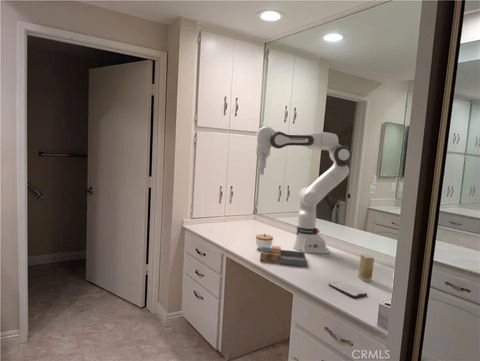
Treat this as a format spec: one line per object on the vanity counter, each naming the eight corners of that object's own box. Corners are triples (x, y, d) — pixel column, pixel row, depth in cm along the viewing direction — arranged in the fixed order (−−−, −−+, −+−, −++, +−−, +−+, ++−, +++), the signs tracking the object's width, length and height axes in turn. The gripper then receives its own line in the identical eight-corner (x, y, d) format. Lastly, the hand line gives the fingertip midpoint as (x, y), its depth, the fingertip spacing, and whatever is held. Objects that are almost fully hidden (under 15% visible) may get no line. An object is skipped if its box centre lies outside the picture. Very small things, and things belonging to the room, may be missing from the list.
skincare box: (357, 277, 174) (360, 253, 173) (366, 277, 174) (368, 253, 173) (363, 281, 168) (365, 257, 166) (371, 282, 168) (374, 257, 167)
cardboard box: (279, 256, 199) (280, 249, 199) (280, 263, 187) (280, 255, 187) (261, 254, 200) (261, 247, 200) (260, 261, 189) (260, 253, 188)
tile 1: (280, 250, 196) (280, 246, 195) (280, 253, 191) (280, 248, 190) (271, 249, 196) (271, 245, 196) (271, 252, 191) (271, 248, 191)
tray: (303, 257, 200) (304, 252, 200) (306, 266, 184) (306, 260, 184) (279, 255, 201) (280, 249, 201) (280, 264, 186) (280, 258, 185)
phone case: (327, 286, 160) (354, 300, 146) (327, 283, 160) (354, 296, 146) (340, 284, 164) (368, 296, 151) (340, 281, 164) (368, 293, 151)
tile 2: (270, 249, 196) (271, 245, 196) (270, 252, 191) (271, 248, 191) (262, 249, 197) (262, 244, 196) (261, 251, 192) (262, 247, 191)
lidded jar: (258, 251, 207) (259, 236, 206) (252, 246, 217) (253, 231, 217) (274, 251, 210) (275, 236, 209) (268, 246, 220) (269, 231, 220)
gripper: (269, 153, 206) (267, 175, 207) (267, 152, 226) (265, 173, 227) (258, 152, 206) (257, 175, 207) (257, 152, 226) (256, 173, 227)
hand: (261, 174), depth 217 cm, fingers open, 8 cm apart
